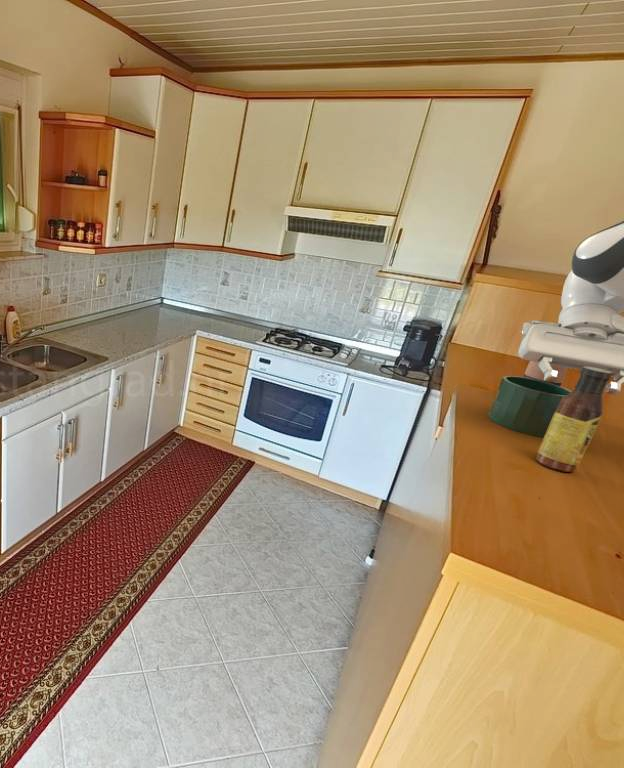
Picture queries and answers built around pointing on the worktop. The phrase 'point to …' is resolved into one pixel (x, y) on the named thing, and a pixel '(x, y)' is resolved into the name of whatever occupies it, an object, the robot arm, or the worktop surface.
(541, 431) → the crock
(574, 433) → the sauce bottle
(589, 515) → the worktop surface
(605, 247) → the robot arm
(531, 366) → the travel mug
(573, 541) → the worktop surface
